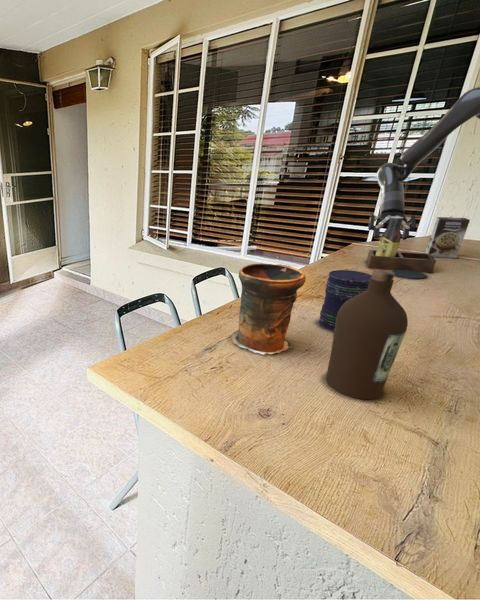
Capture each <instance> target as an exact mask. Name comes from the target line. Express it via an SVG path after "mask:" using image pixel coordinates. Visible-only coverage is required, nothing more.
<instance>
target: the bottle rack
mask: <svg viewBox="0 0 480 600" xmlns="http://www.w3.org/2000/svg"><path fill="white" fill-rule="evenodd" d="M376 251H377V249H368V253H367V256H366V266H367V268H368V269H374V270H386V271H394V270H408V271H415V272H420V273H423V274H433V272H434V269H435V266H436V263H437V260H436V259H435V257H432V256H431V254H426V253H424V252H408V251H397V253H396V256H395V257H386V256H375V255H376Z"/></svg>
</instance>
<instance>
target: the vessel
mask: <svg viewBox="0 0 480 600" xmlns="http://www.w3.org/2000/svg"><path fill="white" fill-rule="evenodd" d="M238 279H239V281H240V284H241V294H240V306H239V313H238V314H239V315H238V329H237V330H238V332H236V333H233V334H232V339H231V340H232V344H234V345H236V346H238V347H240V348H242V349H248V351H251V352H253V353H256V354H260V355H262V356H264V355H266V354H268V355H274V354H276V353H278V354H279V353H281V352H285V351H287V350H288V349H289V348H292V346H289V342H288V341H286V336H287V331H288V329H289V326H290V323H291V318H292V311H293V308H294V304H295V302H296V301H297V298H298V294H297V293H298V290H299V289H301V288H302V287H303V286H304V285H305V283H306V280H307V279H306V274H305V273H304V272H303V271H302V270H300V269H299V268H296V267H294V266H291V265H287V264H273V263H263V262H261V263H251V264H247V265H244V266H242V267H241V268H240V269H239V271H238Z"/></svg>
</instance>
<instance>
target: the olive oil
mask: <svg viewBox="0 0 480 600" xmlns="http://www.w3.org/2000/svg"><path fill="white" fill-rule="evenodd" d="M391 271H392V270H387V269H374V270H373V271H372V272H371V275H372V277H371V278H370V281H369V285H368V289H367V290H366V291H364V292H362V293H360V294H358V295H356V296H355V297H353V298H351V299H349V300H347V301H346V302H345V303H344V304H343V305H342V306H341V308H340V309H339V311H338V314H337V318H336V324H335V331H334V332H333V337H332V342H331V343H332V344H331V349H330V355H329V361H328V366H327V370H326V375H325V380H326V383H327V385H328V386H329V387H331V388H332V389H333V390H335V391H336V392H338V393H340V394H342V395H345V396H348V397H351V398H354V399H359V400H360V399H361V400H374V399H378V398H379V397H381V395H382V394H383V391H384V388H385V386H386V383H387V380H388V378H389V375H390V373H391V370H392V367H393V365H394V362H395V360H396V357H397V355H398V352H399V350H400V348H401V345H402V342H403V340H404V337H405V336H406V332H407V330H408V326H409V325H408V324H409V323H408V322H409V321H408V315H407V311H406V310H405V309H404V307H403V306H402V305H401V304H400V303H399V301H397V299H396V298H395V297H394V296H393V294H392V293H391V291H392V288H393V285H394V283H395V280H394V278H395V277H396V276H395V273H393V272H391Z"/></svg>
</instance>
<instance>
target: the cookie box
mask: <svg viewBox="0 0 480 600" xmlns="http://www.w3.org/2000/svg"><path fill="white" fill-rule="evenodd" d="M470 222H471V220H470V218H467V217H447V216H445V217H444V216H437V217H436V219H435V222H434V225H433V228H432V232H431V234H430V237H429V240H428V242H427V246H426V249H425V253H426V254H431V256H432V257H433V258H448V259H457V258H458V255H459V253H460V249H461V247H462V244H463V241H464V238H465V235H466V232H467V230H468V227H469V224H470Z"/></svg>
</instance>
